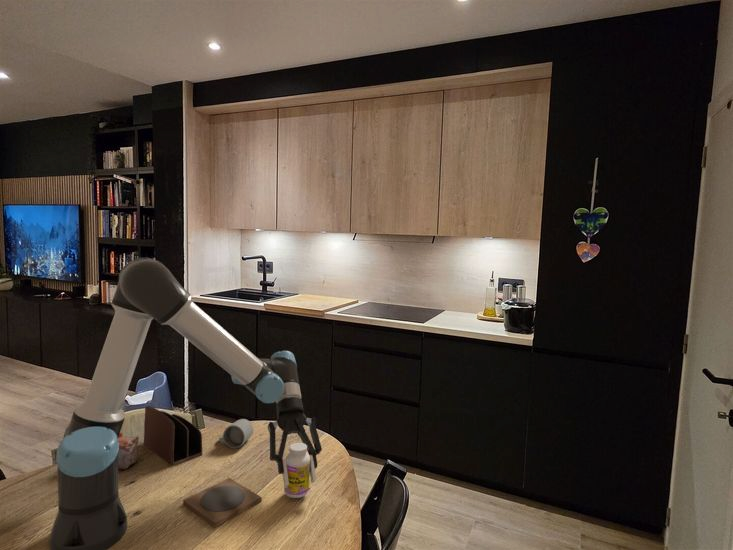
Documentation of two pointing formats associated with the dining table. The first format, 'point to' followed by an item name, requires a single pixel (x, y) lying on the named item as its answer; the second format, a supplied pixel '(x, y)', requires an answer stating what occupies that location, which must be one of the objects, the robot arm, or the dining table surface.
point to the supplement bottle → (298, 470)
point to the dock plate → (222, 502)
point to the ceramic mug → (237, 433)
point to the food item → (127, 451)
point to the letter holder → (171, 436)
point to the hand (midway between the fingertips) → (300, 483)
